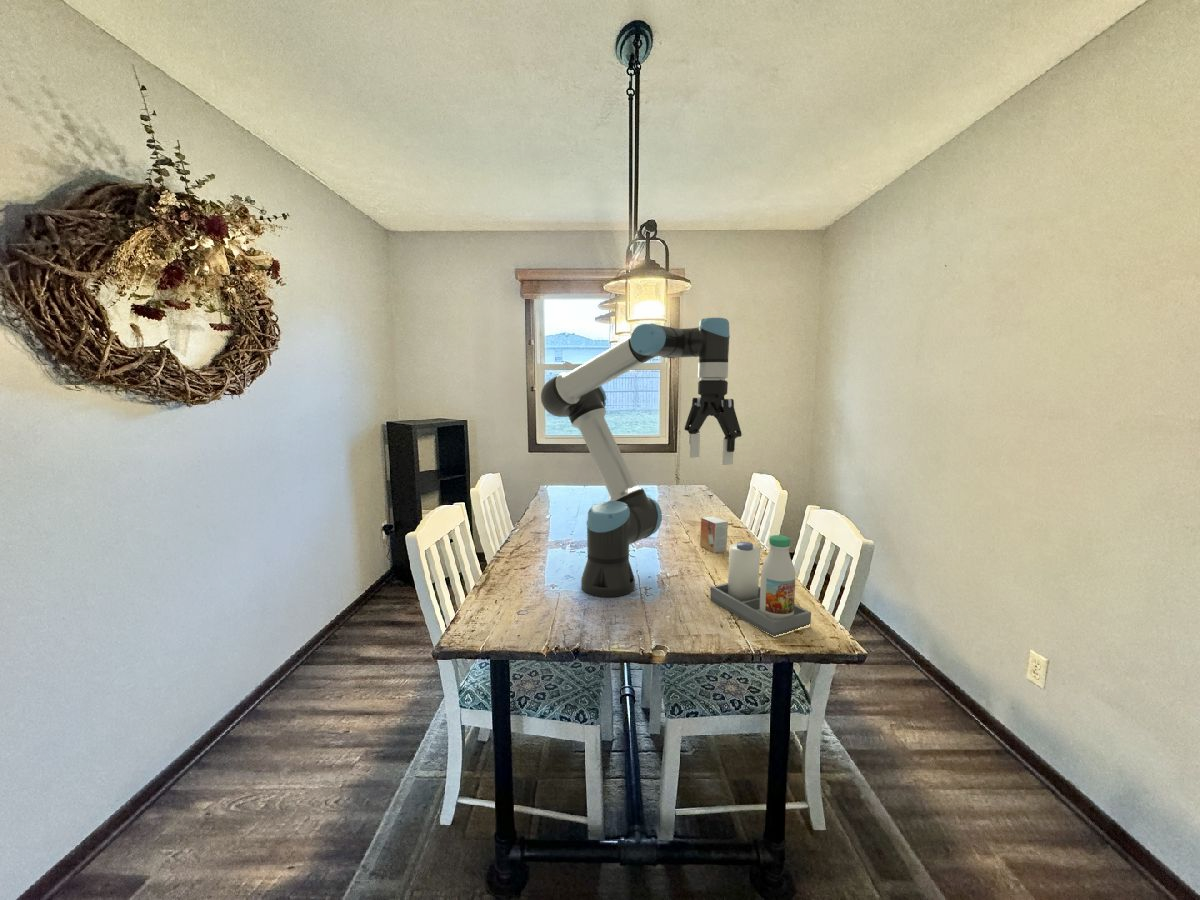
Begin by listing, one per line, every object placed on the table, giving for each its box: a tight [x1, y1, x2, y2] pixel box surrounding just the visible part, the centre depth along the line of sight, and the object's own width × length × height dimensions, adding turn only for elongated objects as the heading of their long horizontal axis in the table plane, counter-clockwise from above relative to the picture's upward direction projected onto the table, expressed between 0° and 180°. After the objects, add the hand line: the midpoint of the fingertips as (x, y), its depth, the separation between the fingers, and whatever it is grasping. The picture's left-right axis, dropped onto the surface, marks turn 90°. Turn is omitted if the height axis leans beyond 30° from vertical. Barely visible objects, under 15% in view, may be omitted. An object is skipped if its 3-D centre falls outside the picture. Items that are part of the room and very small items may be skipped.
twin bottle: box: [727, 541, 761, 602], centre depth 130 cm, size 8×8×15 cm
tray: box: [709, 582, 812, 636], centre depth 126 cm, size 12×22×4 cm, turn 27°
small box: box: [699, 515, 729, 554], centre depth 174 cm, size 8×6×10 cm
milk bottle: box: [759, 534, 796, 620], centre depth 119 cm, size 8×8×20 cm
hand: (710, 460), depth 133 cm, fingers open, 13 cm apart
